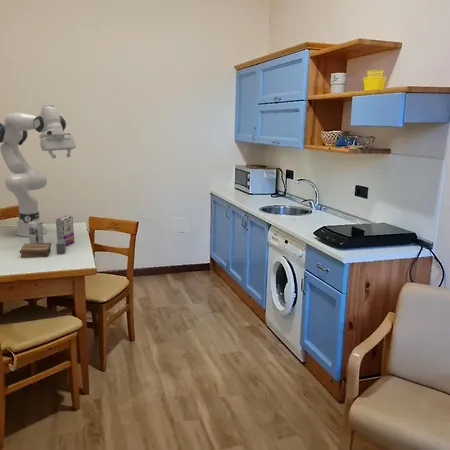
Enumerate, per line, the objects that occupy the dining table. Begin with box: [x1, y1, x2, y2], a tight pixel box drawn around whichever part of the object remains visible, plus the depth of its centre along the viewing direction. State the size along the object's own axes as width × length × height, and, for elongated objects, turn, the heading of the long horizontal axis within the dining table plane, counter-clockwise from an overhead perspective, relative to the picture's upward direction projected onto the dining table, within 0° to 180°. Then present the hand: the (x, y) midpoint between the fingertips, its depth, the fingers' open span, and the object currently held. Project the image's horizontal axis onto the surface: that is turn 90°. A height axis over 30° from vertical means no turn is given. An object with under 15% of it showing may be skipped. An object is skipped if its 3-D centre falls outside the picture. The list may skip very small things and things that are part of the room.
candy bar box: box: [55, 215, 75, 247], centre depth 277 cm, size 11×5×16 cm, turn 168°
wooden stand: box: [19, 242, 52, 259], centre depth 260 cm, size 14×14×4 cm
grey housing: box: [55, 239, 67, 255], centre depth 264 cm, size 10×4×6 cm, turn 13°
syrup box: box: [28, 221, 45, 244], centre depth 273 cm, size 6×6×14 cm
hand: (61, 157), depth 267 cm, fingers open, 8 cm apart
